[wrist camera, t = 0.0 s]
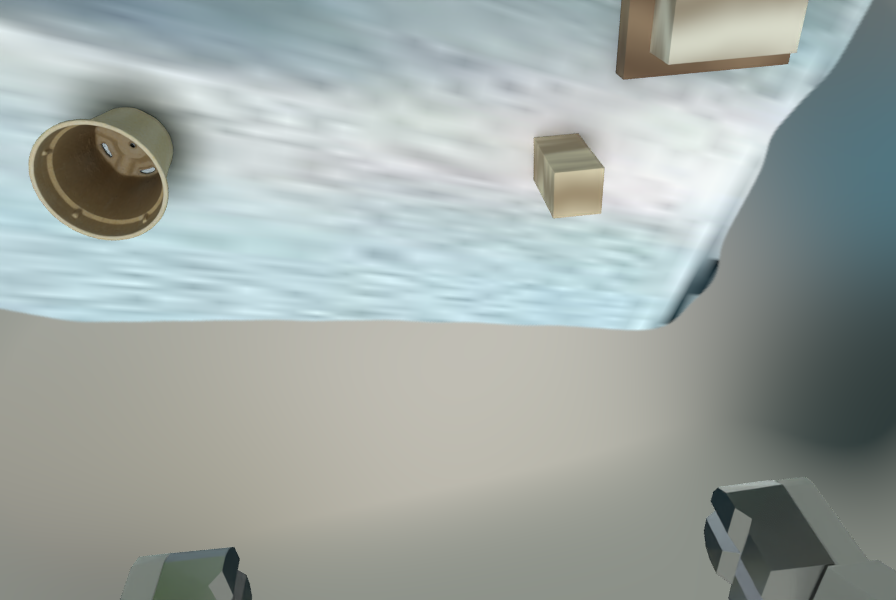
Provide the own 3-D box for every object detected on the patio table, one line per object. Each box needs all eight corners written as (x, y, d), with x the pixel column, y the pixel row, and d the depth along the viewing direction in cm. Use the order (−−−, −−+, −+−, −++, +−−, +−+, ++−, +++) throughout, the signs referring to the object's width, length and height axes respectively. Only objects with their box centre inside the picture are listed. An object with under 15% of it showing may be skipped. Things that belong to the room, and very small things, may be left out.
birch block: (534, 137, 58) (554, 173, 51) (578, 133, 58) (604, 167, 51) (533, 179, 60) (553, 218, 53) (576, 175, 60) (601, 213, 53)
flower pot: (127, 61, 51) (86, 92, 44) (217, 151, 56) (194, 193, 48) (49, 132, 53) (-1, 173, 46) (142, 213, 58) (110, 261, 51)
